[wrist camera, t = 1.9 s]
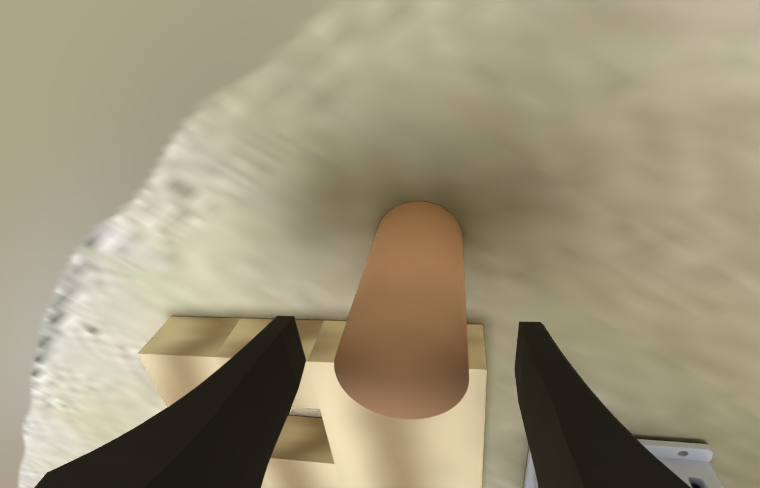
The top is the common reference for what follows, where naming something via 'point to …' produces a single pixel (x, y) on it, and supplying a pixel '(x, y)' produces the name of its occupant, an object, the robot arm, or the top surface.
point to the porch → (333, 411)
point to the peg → (409, 318)
